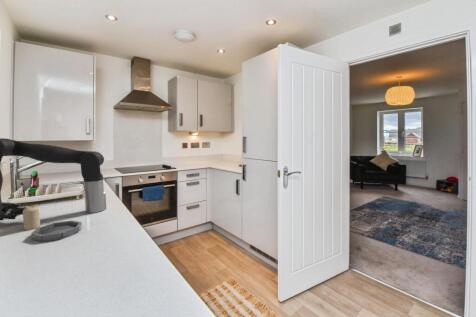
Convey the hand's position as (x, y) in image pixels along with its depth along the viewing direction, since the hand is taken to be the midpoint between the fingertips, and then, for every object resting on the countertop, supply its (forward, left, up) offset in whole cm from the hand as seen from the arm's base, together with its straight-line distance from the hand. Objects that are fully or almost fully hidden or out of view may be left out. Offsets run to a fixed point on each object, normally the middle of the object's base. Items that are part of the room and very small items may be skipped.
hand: (26, 214), depth 107 cm
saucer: (0, +22, -6) cm, 23 cm away
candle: (0, +4, -6) cm, 7 cm away
